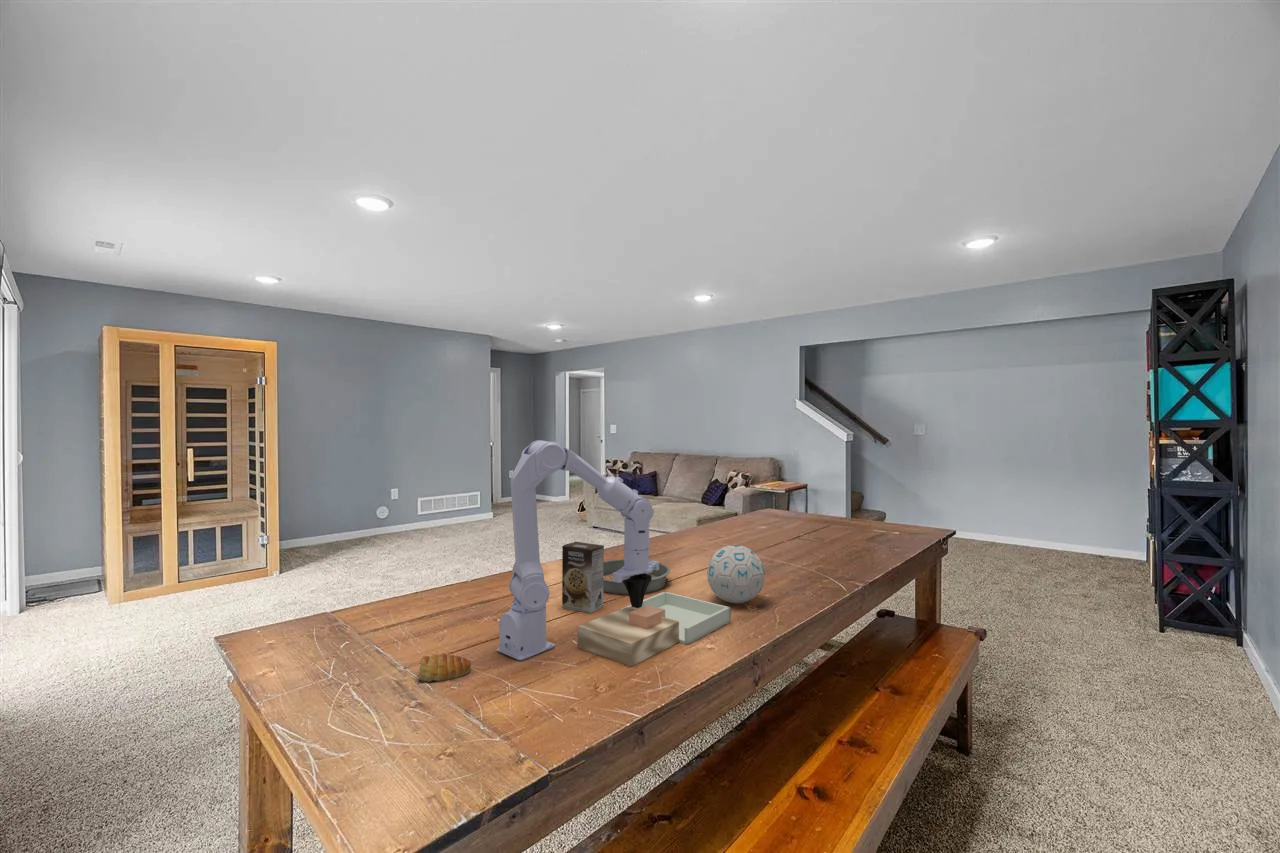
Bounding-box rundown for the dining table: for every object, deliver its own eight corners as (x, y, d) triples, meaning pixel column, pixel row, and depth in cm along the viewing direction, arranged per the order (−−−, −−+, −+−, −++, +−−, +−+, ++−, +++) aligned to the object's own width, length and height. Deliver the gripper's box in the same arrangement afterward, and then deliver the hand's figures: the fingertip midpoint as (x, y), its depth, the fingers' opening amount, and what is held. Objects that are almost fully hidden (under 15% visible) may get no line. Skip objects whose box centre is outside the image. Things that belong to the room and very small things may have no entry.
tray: (687, 644, 124) (687, 628, 124) (619, 623, 136) (619, 609, 136) (730, 621, 138) (730, 607, 138) (665, 604, 150) (665, 591, 150)
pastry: (471, 664, 114) (471, 645, 114) (470, 679, 108) (470, 659, 108) (421, 670, 112) (420, 650, 112) (417, 686, 105) (417, 665, 105)
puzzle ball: (775, 607, 149) (776, 549, 148) (724, 614, 143) (725, 554, 143) (744, 590, 163) (744, 537, 163) (696, 596, 157) (697, 542, 157)
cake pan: (575, 578, 176) (575, 563, 176) (648, 569, 186) (648, 555, 186) (604, 601, 154) (604, 584, 154) (685, 590, 164) (685, 574, 164)
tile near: (647, 629, 121) (647, 617, 121) (628, 623, 124) (628, 612, 124) (661, 622, 125) (661, 611, 125) (643, 617, 128) (643, 606, 128)
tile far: (665, 609, 137) (665, 620, 137) (648, 605, 140) (648, 615, 140) (652, 615, 133) (652, 625, 133) (635, 610, 136) (635, 621, 137)
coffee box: (560, 608, 148) (560, 545, 147) (575, 601, 153) (575, 540, 153) (591, 613, 143) (591, 549, 143) (604, 606, 149) (604, 544, 149)
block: (631, 666, 113) (631, 643, 113) (577, 647, 123) (577, 626, 122) (678, 642, 125) (678, 621, 125) (626, 626, 135) (626, 607, 135)
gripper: (629, 556, 125) (629, 619, 125) (669, 545, 136) (669, 602, 136) (605, 551, 129) (605, 612, 129) (646, 541, 140) (645, 596, 140)
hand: (636, 606), depth 133 cm, fingers closed
